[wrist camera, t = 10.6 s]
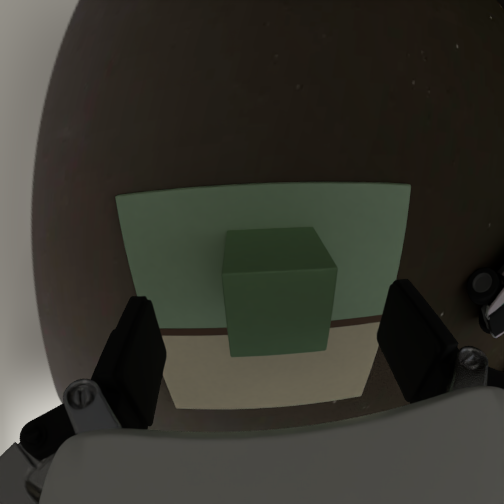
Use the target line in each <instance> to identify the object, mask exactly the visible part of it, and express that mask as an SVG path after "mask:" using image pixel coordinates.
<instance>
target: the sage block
mask: <svg viewBox="0 0 504 504" xmlns="http://www.w3.org/2000/svg"><path fill="white" fill-rule="evenodd" d="M337 271H338V267H337V266H336V264H335V262H334V261H333V259H332V257H331V256H330V254H329V252H328V250H327V249H326V247H325V246H324V244H323V242H322V241H321V239H320V237H319V236H318V234H317V232H316V231H315V229H314V228H313V227H295V228H271V229H248V230H228V231H227V232H226V240H225V248H224V256H223V264H222V272H221V277H222V287H223V296H224V306H225V315H226V323H227V332H228V340H229V348H230V356H231V357H251V356H269V355H284V354H296V353H307V352H317V351H325V350H326V348H327V343H328V337H329V330H330V324H331V317H332V311H333V303H334V296H335V288H336V280H337Z"/></svg>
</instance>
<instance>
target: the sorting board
mask: <svg viewBox="0 0 504 504" xmlns="http://www.w3.org/2000/svg"><path fill="white" fill-rule="evenodd" d="M410 190H411V185H409V184H402V183H378V182H274V183H249V184H229V185H213V186H199V187H187V188H175V189H165V190H155V191H145V192H136V193H128V194H120V195H117V196H115V199H116V204H117V210H118V215H119V221H120V226H121V231H122V235H123V240H124V245H125V249H126V254H127V258H128V262H129V266H130V270H131V274H132V278H133V282H134V286H135V290H136V293H137V296H146V297H147V299H148V300H151V301H152V304H153V307H154V311H155V315H156V318H157V321H158V325H159V328H160V332H161V335H162V338H163V341H164V344H165V348H166V352H167V357H166V362H165V366H164V371H163V376H164V379H165V382H166V384H167V387H168V389H169V392H170V394H171V397H172V399H173V402H174V404H175V407H176V408H183V409H252V408H270V407H283V406H294V405H303V404H312V403H320V402H327V401H334V400H340V399H346V398H352V397H357V396H361V395H362V392H363V389H364V387H365V384H366V381H367V379H368V376H369V373H370V370H371V367H372V364H373V361H374V358H375V355H376V352H377V349H378V346H379V344H378V342H377V331H378V328H379V324H380V321H381V317H382V313H383V310H384V306H385V302H386V298H387V294H388V290H389V286H390V285H391V284H393V282H394V281H395V280H396V277H397V272H398V268H399V263H400V258H401V252H402V247H403V241H404V235H405V229H406V222H407V215H408V207H409V199H410ZM295 227H313V228H314V229H315V231H316V232H317V234H318V236H319V237H320V239H321V241H322V242H323V244H324V246H325V247H326V249H327V250H328V252H329V254H330V256H331V257H332V259H333V261H334V262H335V264H336V266H337V267H338V271H337V280H336V288H335V296H334V303H333V311H332V317H331V324H330V330H329V337H328V343H327V348H326V350H325V351H317V352H307V353H296V354H284V355H269V356H251V357H231V356H230V348H229V340H228V332H227V323H226V315H225V306H224V296H223V287H222V277H221V272H222V264H223V256H224V248H225V240H226V232H227V231H228V230H248V229H271V228H295Z"/></svg>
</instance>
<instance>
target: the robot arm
mask: <svg viewBox="0 0 504 504" xmlns="http://www.w3.org/2000/svg"><path fill="white" fill-rule="evenodd" d="M377 342H378V344H379V346H380V348H381V350H382V352H383V354H384V356H385V358H386V360H387V362H388V364H389V366H390V368H391V370H392V372H393V374H394V376H395V379H396V381H397V383H398V385H399V387H400V389H401V391H402V393H403V396H404V398H405V400H406V401H407V402H410V404H409V405H405V406H402V407H398V408H394V409H391V410H387V411H383V412H379V413H374V414H370V415H366V416H361V417H356V418H351V419H346V420H341V421H335V422H329V423H323V424H316V425H309V426H302V427H293V428H284V429H273V430H260V431H241V432H182V431H161V430H147V429H148V426H152V424H153V419H154V414H155V409H156V404H157V399H158V394H159V389H160V384H161V380H162V375H163V371H164V366H165V362H166V357H167V352H166V348H165V344H164V341H163V338H162V335H161V332H160V328H159V325H158V321H157V318H156V315H155V311H154V307H153V304H152V301H151V300H148V299H147V297H146V296H132V297H131V298H130V299H129V301H128V304H127V306H126V308H125V310H124V312H123V314H122V316H121V318H120V320H119V323H118V325H117V327H116V329H114V330H113V331H112V332H111V334H110V336H109V338H108V341H107V343H106V345H105V347H104V350H103V352H102V354H101V356H100V359H99V361H98V363H97V366H96V368H95V371H94V373H93V375H92V378H91V380H90V379H80V380H76V381H74V382H73V383H71V384H70V385H69V386H68V387H67V388H66V390H65V392H64V395H63V402H64V403H63V404H61V405H60V406H58V407H56V408H54V409H52V410H50V411H49V412H47V413H45V414H43V415H41V416H39V417H37V418H36V419H34V420H32V421H30V422H28V423H27V424H26V425H25V426H24V427H23V428H22V431H21V433H20V443H19V444H17V443H16V442H15V443H14V444H13V445H12V446H11V447H10V448H9V449H7V450H6V451H5V452H4V453H3V454H2V455H1V456H0V504H504V373H503V372H501V371H498V370H495V369H493V368H490V367H488V359H487V357H486V355H485V354H484V353H483V352H482V351H481V350H480V349H478V348H476V347H473V346H465V347H462V348H461V349H460V350H459V349H458V348H457V345H458V342H457V341H456V339H455V338H454V337H453V335H452V334H451V333H450V331H449V330H448V329H447V327H446V326H445V325H444V323H443V322H442V321H441V319H440V318H439V317H438V315H437V314H436V313H435V312H434V310H433V309H432V308H431V307H430V305H429V304H428V303H427V302H426V300H425V299H424V298H423V297H422V295H421V294H420V293H419V292H418V290H417V289H416V288H415V287H414V286H413V284H412V283H411V282H410V281H409V280H408V279H402V280H395V281H394V282H393V284H391V285H390V286H389V290H388V294H387V298H386V302H385V306H384V310H383V313H382V317H381V321H380V324H379V328H378V331H377Z"/></svg>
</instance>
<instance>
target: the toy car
mask: <svg viewBox="0 0 504 504" xmlns="http://www.w3.org/2000/svg"><path fill="white" fill-rule="evenodd" d="M498 273H500V274H498V276H497V274H496V273H495V271H493V270H492V269H490V268H482V269H479V270H477V271H475V272H474V273H473V274H472V275H471V277H470V278H469V280H468V283H467V291H468V295H469V297H470V298H471V300H472V301H473V302H474V303H476V304H478V305H483V307H482V308H481V311H480V314H479V324H480V327H481V328H482V330H483V331H484V332H486V333H489V334H492V335H493V337H495V338H497V337H499V336H500V335H502V334H503V333H504V265H503V266H502V267H501V268H500V269H499V271H498ZM498 277H499V278H498Z"/></svg>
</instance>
